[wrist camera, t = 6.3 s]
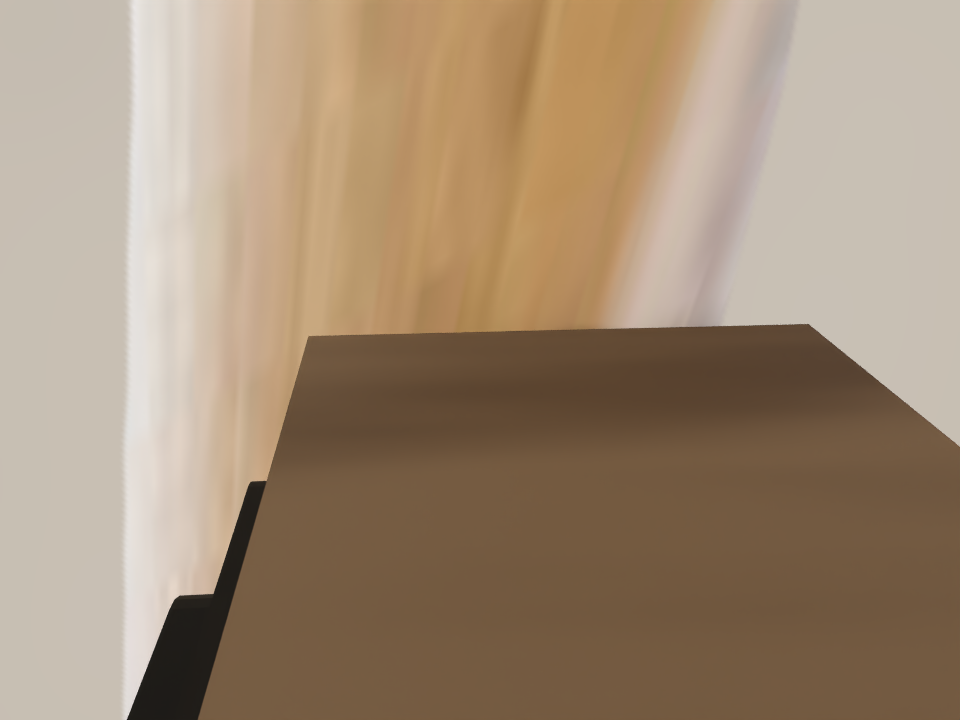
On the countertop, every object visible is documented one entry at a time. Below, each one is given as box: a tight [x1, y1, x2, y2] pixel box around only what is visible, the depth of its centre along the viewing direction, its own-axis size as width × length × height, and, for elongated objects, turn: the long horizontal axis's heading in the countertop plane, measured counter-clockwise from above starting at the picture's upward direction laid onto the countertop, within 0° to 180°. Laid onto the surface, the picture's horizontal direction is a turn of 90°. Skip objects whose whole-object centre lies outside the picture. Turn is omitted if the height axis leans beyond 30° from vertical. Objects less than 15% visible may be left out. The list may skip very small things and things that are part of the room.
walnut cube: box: [198, 324, 960, 720], centre depth 8 cm, size 6×6×6 cm
